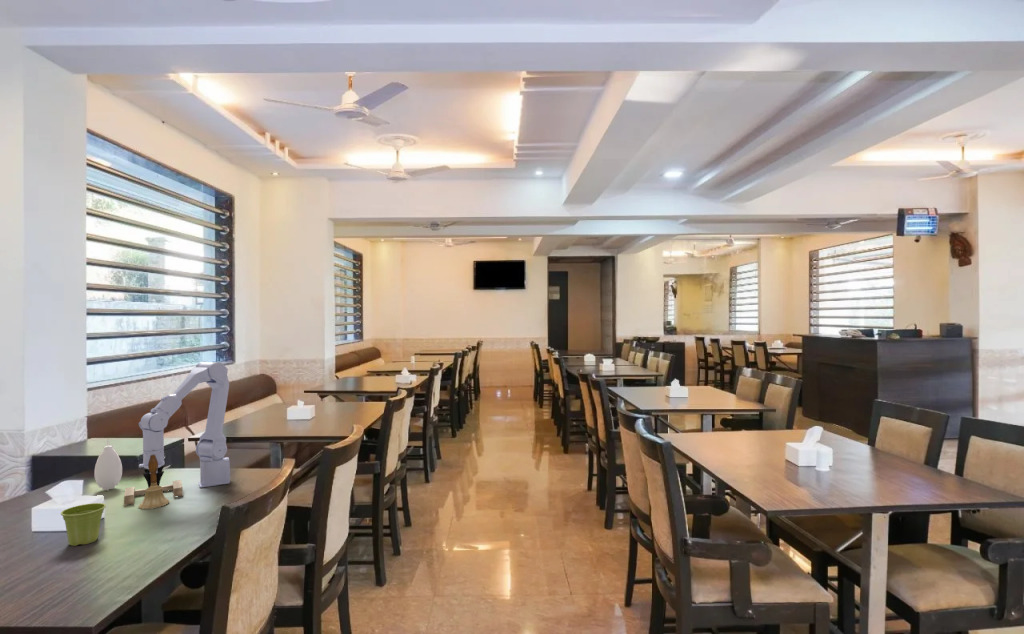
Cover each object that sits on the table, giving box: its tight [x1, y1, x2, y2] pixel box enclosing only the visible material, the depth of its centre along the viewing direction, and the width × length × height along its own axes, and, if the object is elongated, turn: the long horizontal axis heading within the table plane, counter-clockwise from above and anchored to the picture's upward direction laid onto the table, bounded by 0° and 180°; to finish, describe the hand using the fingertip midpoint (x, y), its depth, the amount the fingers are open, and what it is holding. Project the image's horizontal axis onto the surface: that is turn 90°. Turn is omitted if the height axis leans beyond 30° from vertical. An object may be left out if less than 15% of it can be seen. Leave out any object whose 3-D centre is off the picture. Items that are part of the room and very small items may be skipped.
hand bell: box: [138, 455, 170, 510], centre depth 174 cm, size 8×8×16 cm
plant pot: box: [60, 502, 107, 547], centre depth 144 cm, size 9×9×9 cm
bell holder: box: [123, 479, 184, 506], centre depth 183 cm, size 16×11×3 cm
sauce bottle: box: [93, 438, 123, 491], centre depth 193 cm, size 8×8×18 cm
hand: (153, 491), depth 180 cm, fingers open, 6 cm apart
